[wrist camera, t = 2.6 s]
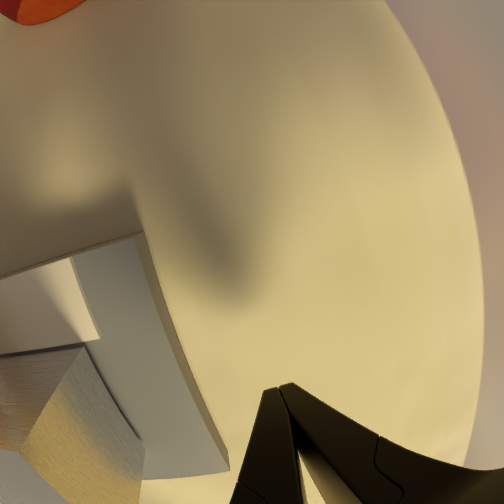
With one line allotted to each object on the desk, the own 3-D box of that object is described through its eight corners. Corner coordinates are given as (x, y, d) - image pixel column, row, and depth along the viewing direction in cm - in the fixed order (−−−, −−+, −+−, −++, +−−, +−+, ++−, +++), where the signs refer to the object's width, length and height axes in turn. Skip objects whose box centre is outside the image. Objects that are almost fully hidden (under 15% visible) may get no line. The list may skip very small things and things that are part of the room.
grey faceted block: (145, 449, 8) (134, 548, 4) (53, 449, 8) (24, 523, 4) (51, 263, 7) (-57, 330, 2) (-35, 294, 6) (-113, 344, 2)
